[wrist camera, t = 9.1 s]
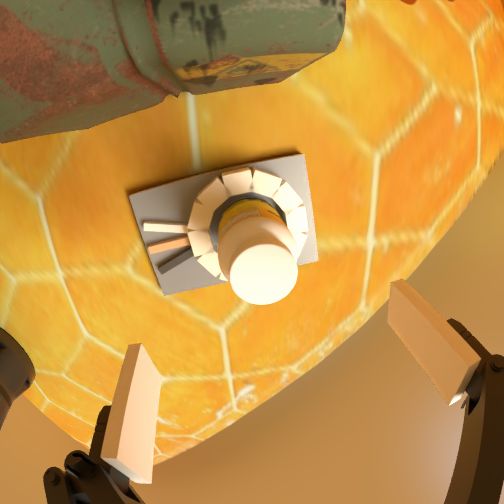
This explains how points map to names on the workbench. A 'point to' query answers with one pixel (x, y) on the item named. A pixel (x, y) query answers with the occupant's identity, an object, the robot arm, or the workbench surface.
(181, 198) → the junction plate
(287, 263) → the pill bottle
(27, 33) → the fuel can
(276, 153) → the workbench surface
